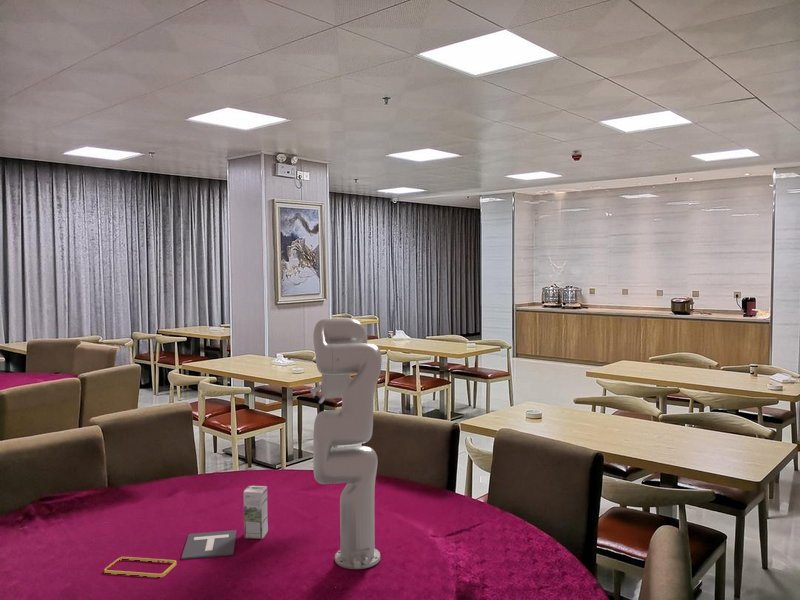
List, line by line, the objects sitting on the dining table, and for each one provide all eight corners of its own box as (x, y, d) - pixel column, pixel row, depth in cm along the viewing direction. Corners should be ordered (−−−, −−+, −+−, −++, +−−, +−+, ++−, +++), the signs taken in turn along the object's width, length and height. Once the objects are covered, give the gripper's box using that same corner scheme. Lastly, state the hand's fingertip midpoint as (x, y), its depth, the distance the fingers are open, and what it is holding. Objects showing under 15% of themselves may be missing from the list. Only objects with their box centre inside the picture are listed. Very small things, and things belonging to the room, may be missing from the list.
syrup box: (268, 531, 194) (267, 485, 193) (262, 539, 188) (261, 491, 187) (250, 530, 194) (249, 484, 193) (243, 539, 188) (242, 491, 188)
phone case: (120, 561, 176) (120, 556, 176) (177, 565, 173) (177, 560, 173) (102, 575, 168) (102, 570, 168) (162, 579, 165) (162, 574, 165)
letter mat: (233, 554, 178) (233, 552, 178) (181, 559, 175) (181, 557, 175) (236, 531, 194) (236, 529, 194) (188, 535, 191) (188, 533, 191)
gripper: (311, 366, 210) (312, 417, 210) (362, 364, 214) (363, 414, 215) (309, 363, 217) (309, 412, 218) (358, 361, 221) (359, 409, 222)
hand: (336, 413), depth 216 cm, fingers open, 9 cm apart
